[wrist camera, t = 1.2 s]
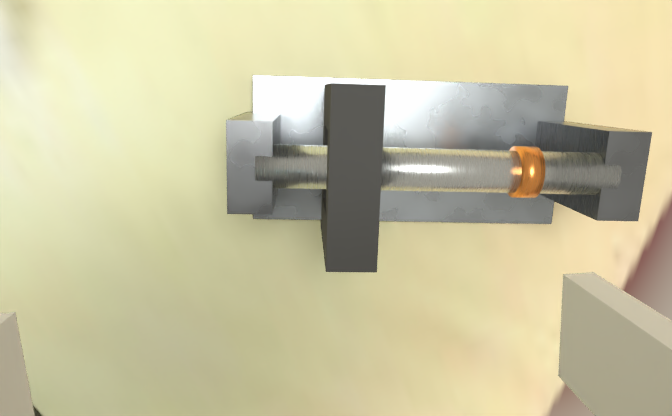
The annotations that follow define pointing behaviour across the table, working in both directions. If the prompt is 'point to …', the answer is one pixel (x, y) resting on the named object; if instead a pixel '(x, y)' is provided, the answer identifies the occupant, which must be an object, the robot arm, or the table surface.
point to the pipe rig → (438, 154)
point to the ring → (352, 175)
